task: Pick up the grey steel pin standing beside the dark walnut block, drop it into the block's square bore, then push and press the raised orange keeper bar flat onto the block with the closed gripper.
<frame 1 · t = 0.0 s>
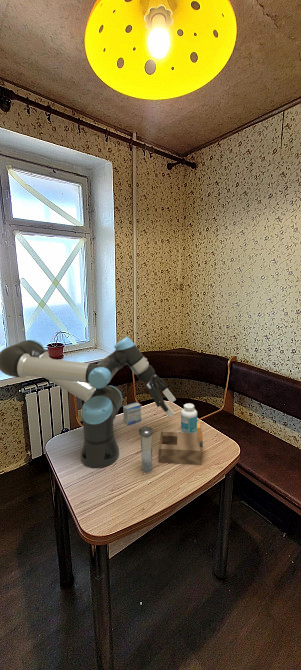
hand: (172, 408, 116), 15 cm above the table, tool tilted 35°, fingers open, 13 cm apart
keeper: (199, 431, 107), point 10 cm above the table, hinge at 80.0°
pill bottle: (188, 433, 125), on the table
medicine box: (132, 421, 136), on the table
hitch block: (179, 453, 110), on the table
steel pin: (147, 468, 102), on the table
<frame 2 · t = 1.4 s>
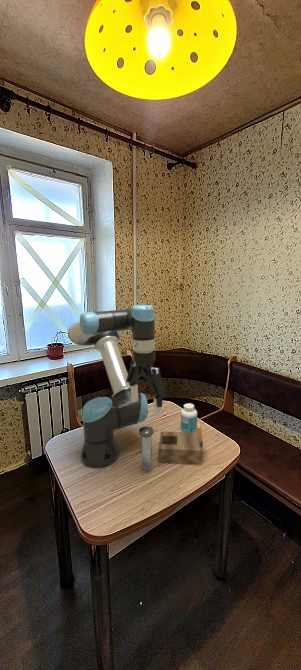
hand: (145, 407, 97), 25 cm above the table, tool pointing down, fingers open, 13 cm apart
nothing on the table moved.
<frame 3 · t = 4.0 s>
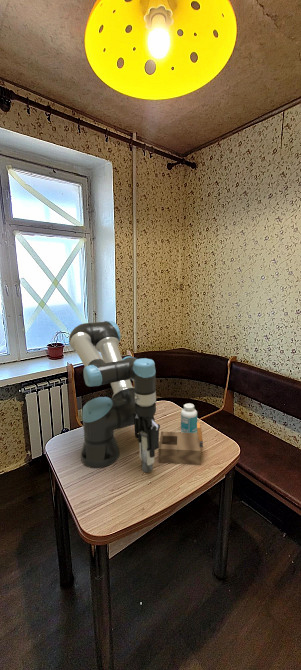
hand: (146, 460, 101), 4 cm above the table, tool pointing down, fingers closed on steel pin, 4 cm apart
steel pin: (147, 468, 102), on the table, touching gripper
everything else where it was.
when the fingers open (8 cm above the table, at t = 10.4 s): steel pin drops 4 cm, resting in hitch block.
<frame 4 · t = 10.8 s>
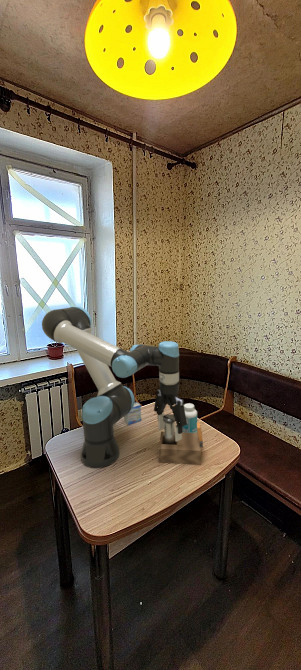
hand: (169, 434, 109), 9 cm above the table, tool pointing down, fingers open, 9 cm apart
steel pin: (169, 453, 110), resting in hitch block
everything else where it was.
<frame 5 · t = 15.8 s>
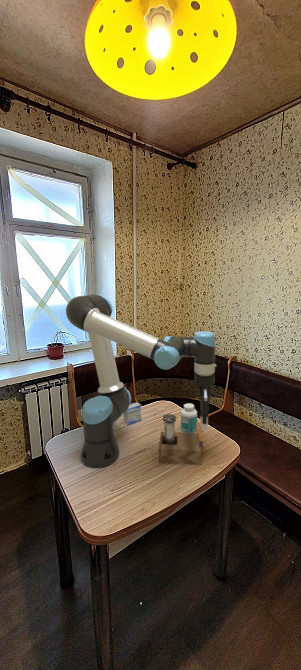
hand: (204, 429, 107), 11 cm above the table, tool pointing down, fingers closed
keeper: (199, 431, 107), point 10 cm above the table, hinge at 78.7°, touching gripper
everything else where it was.
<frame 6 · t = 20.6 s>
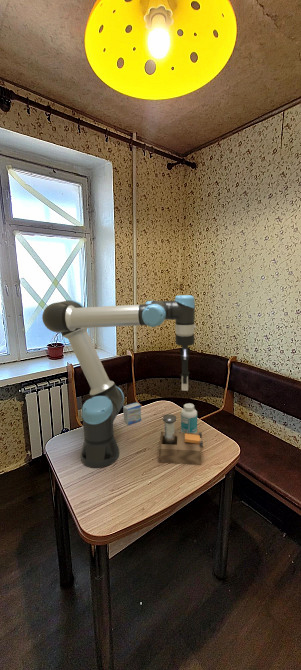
hand: (184, 389, 113), 24 cm above the table, tool pointing down, fingers closed
keeper: (192, 438, 108), point 7 cm above the table, hinge at 6.0°
everything else where it was.
at the end: steel pin 0.0 cm from the target spot on the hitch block, point 0.0 cm above the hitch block's base; steel pin tilted 0°; keeper at +6° (first picture: +80°) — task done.
